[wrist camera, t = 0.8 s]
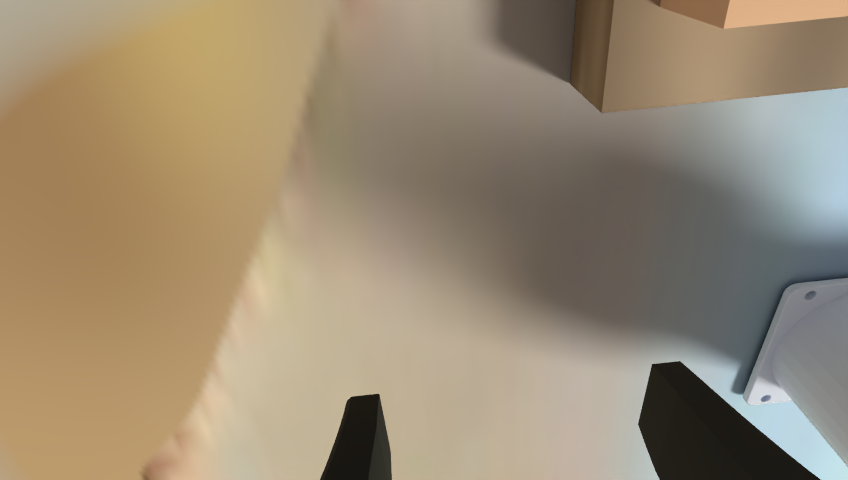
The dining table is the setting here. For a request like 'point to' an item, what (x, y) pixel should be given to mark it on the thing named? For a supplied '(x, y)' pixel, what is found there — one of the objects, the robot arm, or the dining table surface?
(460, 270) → the dining table surface
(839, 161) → the dining table surface
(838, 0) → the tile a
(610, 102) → the board
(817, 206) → the dining table surface
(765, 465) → the robot arm
